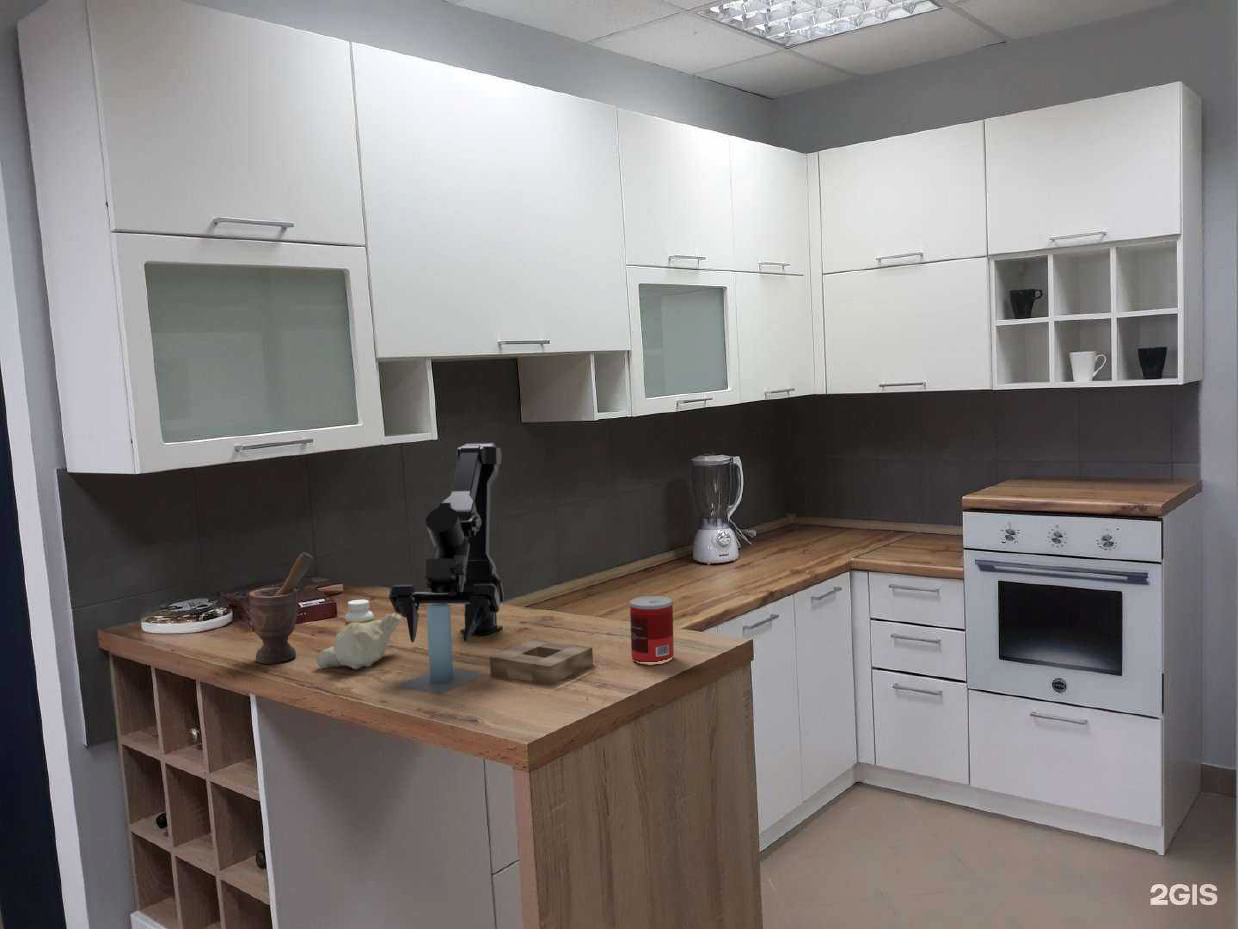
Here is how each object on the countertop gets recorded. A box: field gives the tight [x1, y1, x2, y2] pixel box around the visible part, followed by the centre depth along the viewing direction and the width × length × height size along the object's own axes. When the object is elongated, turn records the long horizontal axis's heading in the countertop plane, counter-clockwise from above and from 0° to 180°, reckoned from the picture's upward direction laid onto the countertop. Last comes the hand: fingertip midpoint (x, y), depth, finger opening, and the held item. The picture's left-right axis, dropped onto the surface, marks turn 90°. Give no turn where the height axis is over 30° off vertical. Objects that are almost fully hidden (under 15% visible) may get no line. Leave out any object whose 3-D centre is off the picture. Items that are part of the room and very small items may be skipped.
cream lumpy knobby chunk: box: [315, 612, 403, 670], centre depth 184 cm, size 15×7×15 cm
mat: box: [395, 668, 487, 695], centre depth 173 cm, size 12×10×1 cm
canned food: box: [629, 595, 675, 662], centre depth 182 cm, size 8×8×11 cm
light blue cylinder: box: [425, 603, 454, 684], centre depth 172 cm, size 4×4×13 cm
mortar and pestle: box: [248, 552, 314, 665], centre depth 190 cm, size 12×9×20 cm
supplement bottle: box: [344, 599, 375, 627], centre depth 194 cm, size 5×5×10 cm
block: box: [489, 638, 594, 686], centre depth 177 cm, size 13×13×4 cm
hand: (438, 640), depth 171 cm, fingers open, 9 cm apart
